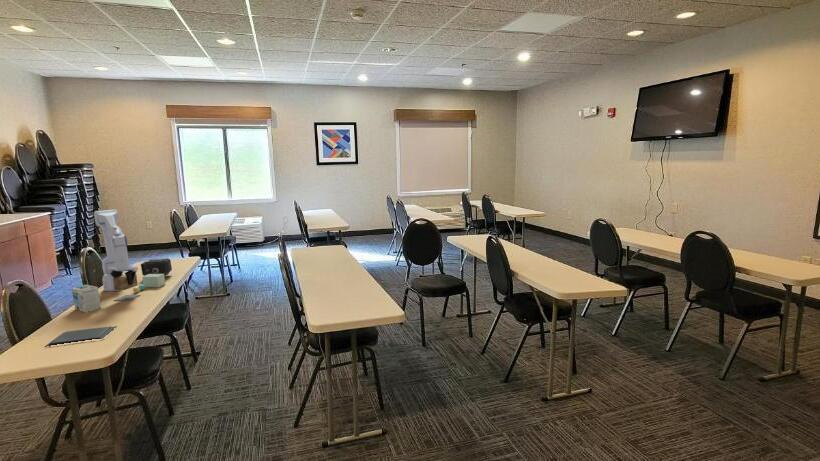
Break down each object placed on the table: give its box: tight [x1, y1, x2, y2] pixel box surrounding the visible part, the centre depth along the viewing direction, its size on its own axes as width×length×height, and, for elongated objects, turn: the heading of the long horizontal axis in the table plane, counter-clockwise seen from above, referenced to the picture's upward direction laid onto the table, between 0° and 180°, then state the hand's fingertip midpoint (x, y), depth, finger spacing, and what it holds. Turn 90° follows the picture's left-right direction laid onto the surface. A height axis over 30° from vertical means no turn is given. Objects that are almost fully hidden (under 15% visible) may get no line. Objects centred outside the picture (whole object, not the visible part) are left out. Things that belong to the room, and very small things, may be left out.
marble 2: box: [137, 284, 146, 291], centre depth 224 cm, size 3×3×3 cm
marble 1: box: [132, 286, 141, 294], centre depth 220 cm, size 3×3×3 cm
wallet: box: [44, 325, 118, 347], centre depth 166 cm, size 20×2×15 cm
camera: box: [140, 258, 173, 277], centre depth 247 cm, size 11×11×15 cm
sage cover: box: [142, 274, 166, 288], centre depth 231 cm, size 5×9×6 cm, turn 85°
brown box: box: [113, 273, 138, 291], centre depth 210 cm, size 5×9×6 cm, turn 175°
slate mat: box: [113, 294, 141, 302], centre depth 211 cm, size 8×8×1 cm
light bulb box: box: [71, 284, 102, 313], centre depth 196 cm, size 11×7×11 cm, turn 62°
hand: (125, 284), depth 210 cm, fingers closed on brown box, 5 cm apart
